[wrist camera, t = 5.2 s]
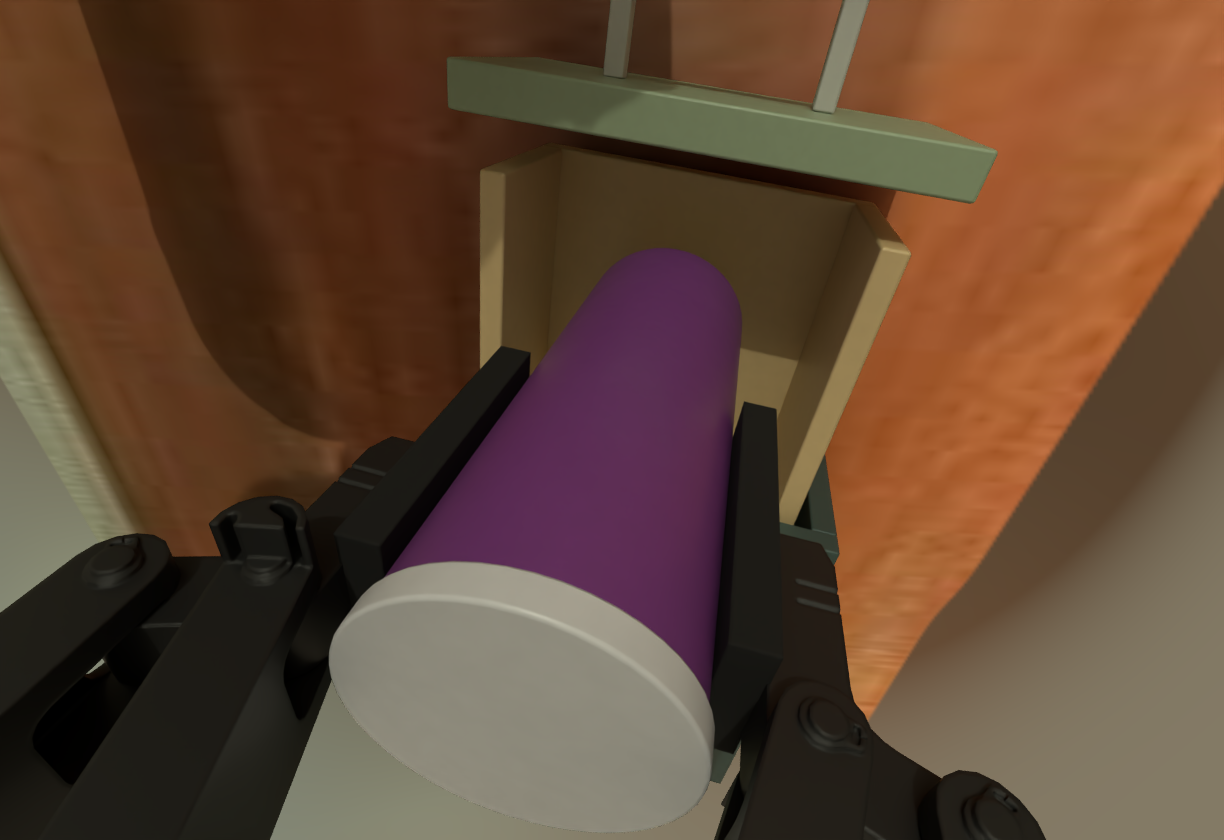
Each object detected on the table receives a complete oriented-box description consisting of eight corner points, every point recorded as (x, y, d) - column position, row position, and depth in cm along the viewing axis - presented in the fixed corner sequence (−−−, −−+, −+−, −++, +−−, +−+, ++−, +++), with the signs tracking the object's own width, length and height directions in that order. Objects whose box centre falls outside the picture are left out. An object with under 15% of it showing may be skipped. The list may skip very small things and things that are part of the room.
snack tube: (595, 229, 18) (291, 546, 6) (765, 263, 17) (765, 681, 6) (579, 375, 21) (353, 767, 9) (723, 409, 20) (667, 870, 9)
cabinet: (516, 347, 28) (428, 448, 21) (820, 417, 26) (840, 554, 19) (507, 574, 37) (444, 698, 30) (730, 636, 35) (720, 784, 28)
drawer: (542, -97, 18) (438, -169, 12) (992, -36, 16) (1114, -87, 11) (518, 416, 29) (458, 504, 23) (785, 482, 27) (790, 593, 22)
